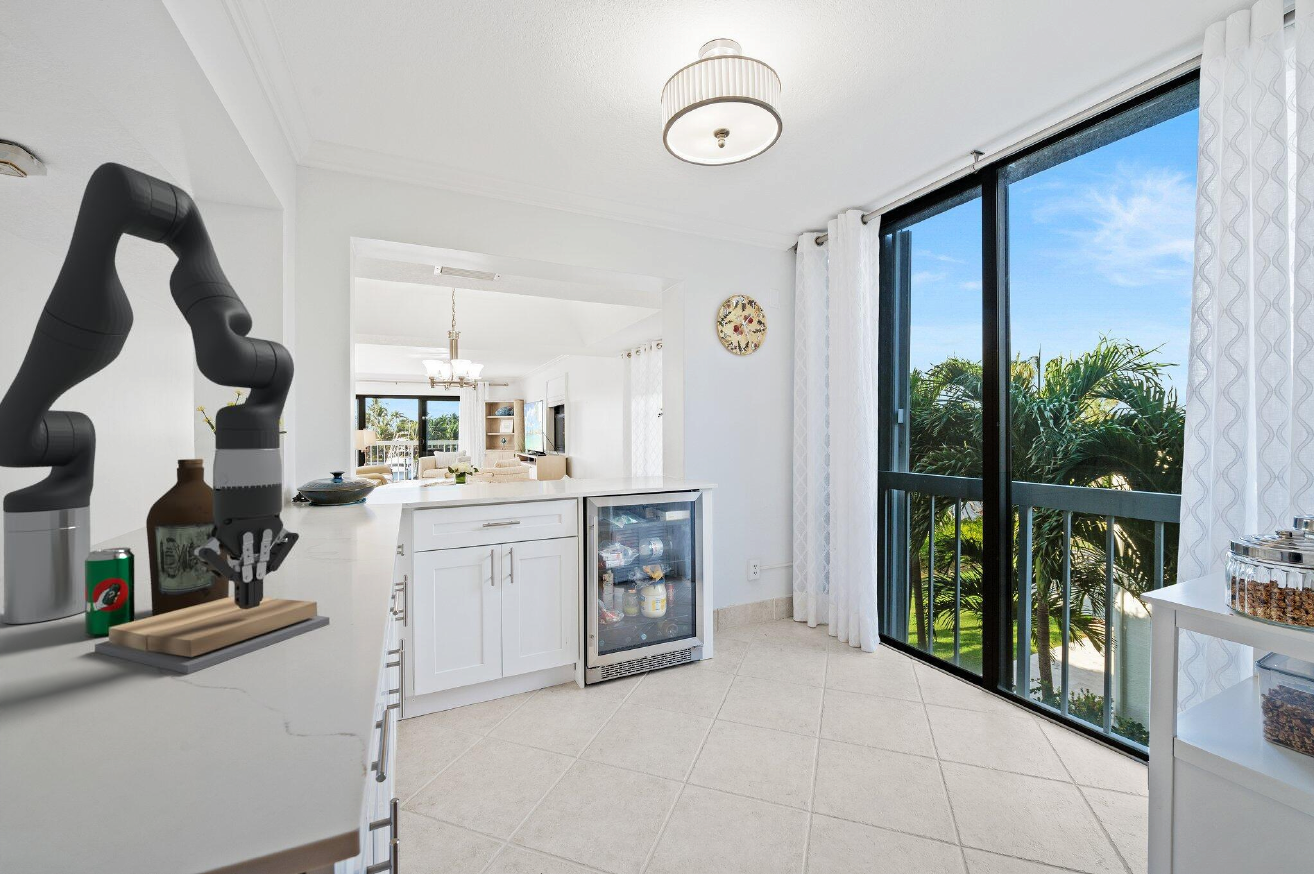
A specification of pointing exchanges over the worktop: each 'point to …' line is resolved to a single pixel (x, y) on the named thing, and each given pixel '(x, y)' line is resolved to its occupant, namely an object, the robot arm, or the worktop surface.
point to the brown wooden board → (230, 627)
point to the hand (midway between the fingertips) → (248, 607)
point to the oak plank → (168, 622)
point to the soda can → (109, 590)
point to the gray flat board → (213, 656)
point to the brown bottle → (182, 543)
